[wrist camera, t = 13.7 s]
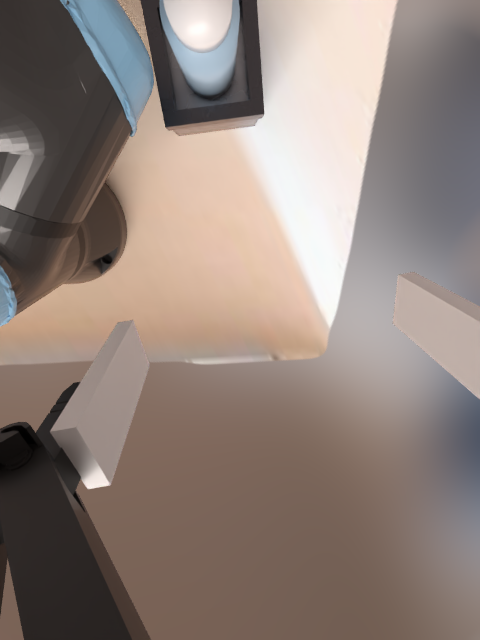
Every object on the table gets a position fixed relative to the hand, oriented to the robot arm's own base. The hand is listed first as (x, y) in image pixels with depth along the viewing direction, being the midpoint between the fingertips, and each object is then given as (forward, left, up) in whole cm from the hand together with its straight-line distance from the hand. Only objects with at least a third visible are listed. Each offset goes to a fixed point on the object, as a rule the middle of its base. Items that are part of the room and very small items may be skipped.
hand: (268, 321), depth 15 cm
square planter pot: (-2, +16, -28) cm, 32 cm away
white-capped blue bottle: (-1, +16, -22) cm, 27 cm away
